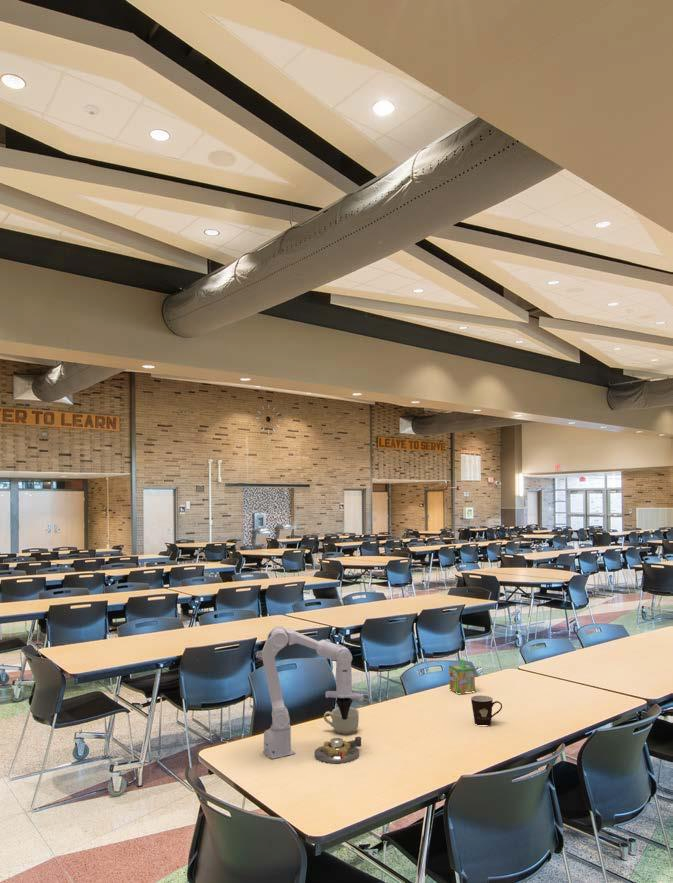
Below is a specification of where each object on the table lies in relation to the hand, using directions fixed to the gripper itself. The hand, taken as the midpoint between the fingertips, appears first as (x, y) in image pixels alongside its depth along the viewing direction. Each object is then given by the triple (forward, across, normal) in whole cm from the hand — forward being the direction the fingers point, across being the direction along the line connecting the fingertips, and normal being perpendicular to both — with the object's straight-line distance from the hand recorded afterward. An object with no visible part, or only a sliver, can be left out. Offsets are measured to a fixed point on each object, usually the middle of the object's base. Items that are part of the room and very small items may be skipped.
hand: (344, 718), depth 240 cm
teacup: (+11, -8, +17) cm, 21 cm away
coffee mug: (+11, +44, +42) cm, 62 cm away
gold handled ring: (+9, +1, -5) cm, 11 cm away
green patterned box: (+11, +26, +87) cm, 91 cm away
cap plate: (+10, 0, -8) cm, 13 cm away
